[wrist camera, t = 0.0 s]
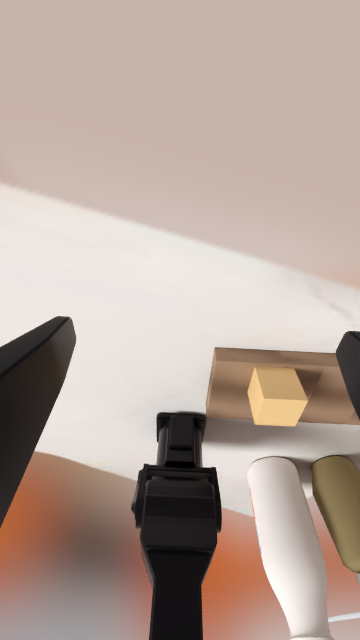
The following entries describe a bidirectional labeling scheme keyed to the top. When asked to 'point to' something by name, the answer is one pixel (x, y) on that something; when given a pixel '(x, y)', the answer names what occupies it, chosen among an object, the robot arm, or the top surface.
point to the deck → (311, 368)
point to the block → (276, 396)
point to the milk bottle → (290, 546)
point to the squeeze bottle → (340, 505)
